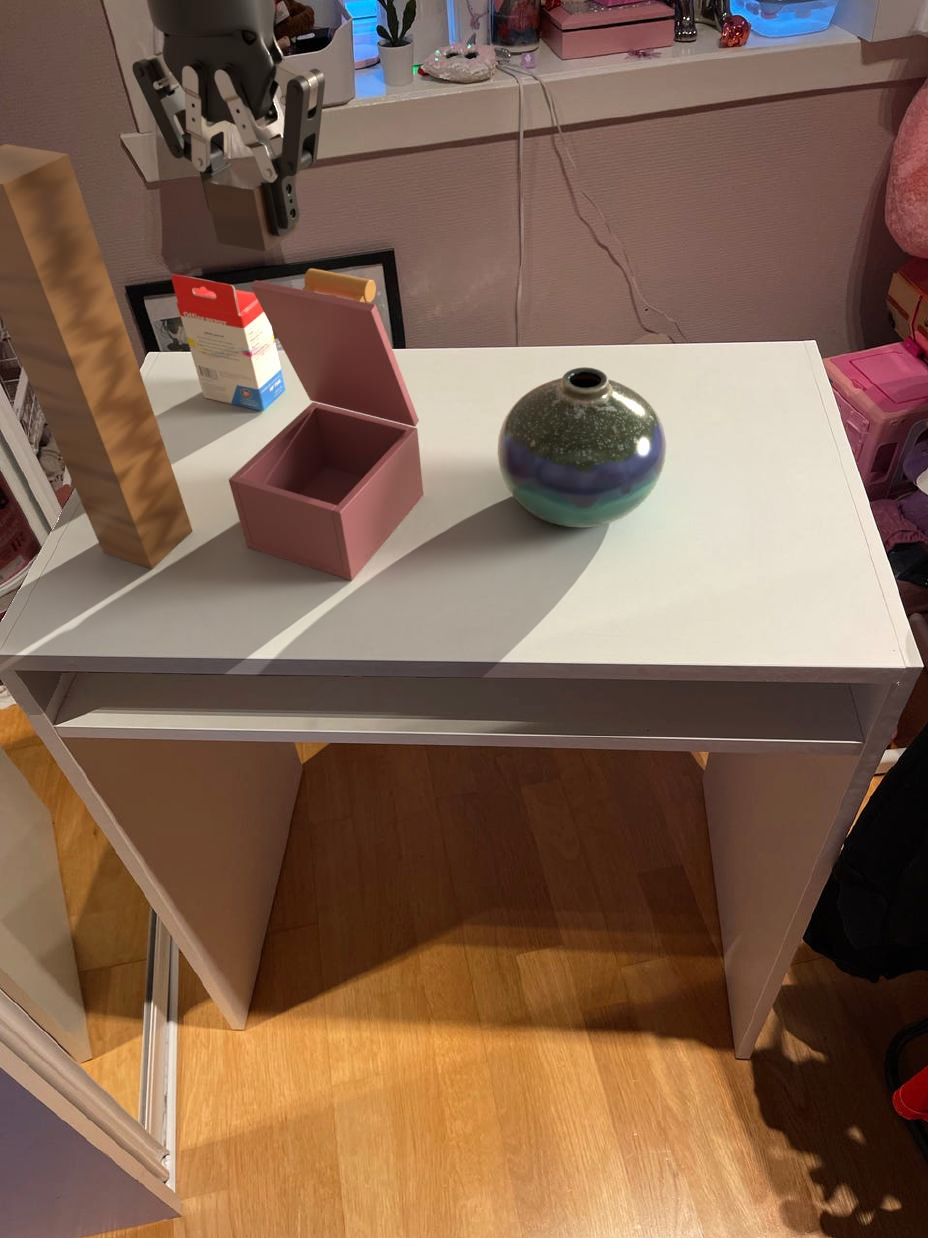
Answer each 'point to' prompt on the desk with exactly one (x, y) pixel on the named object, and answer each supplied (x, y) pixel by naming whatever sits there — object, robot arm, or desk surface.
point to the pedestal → (83, 359)
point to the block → (241, 208)
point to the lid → (338, 344)
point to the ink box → (229, 343)
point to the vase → (581, 449)
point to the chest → (329, 489)
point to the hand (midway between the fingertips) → (256, 225)
